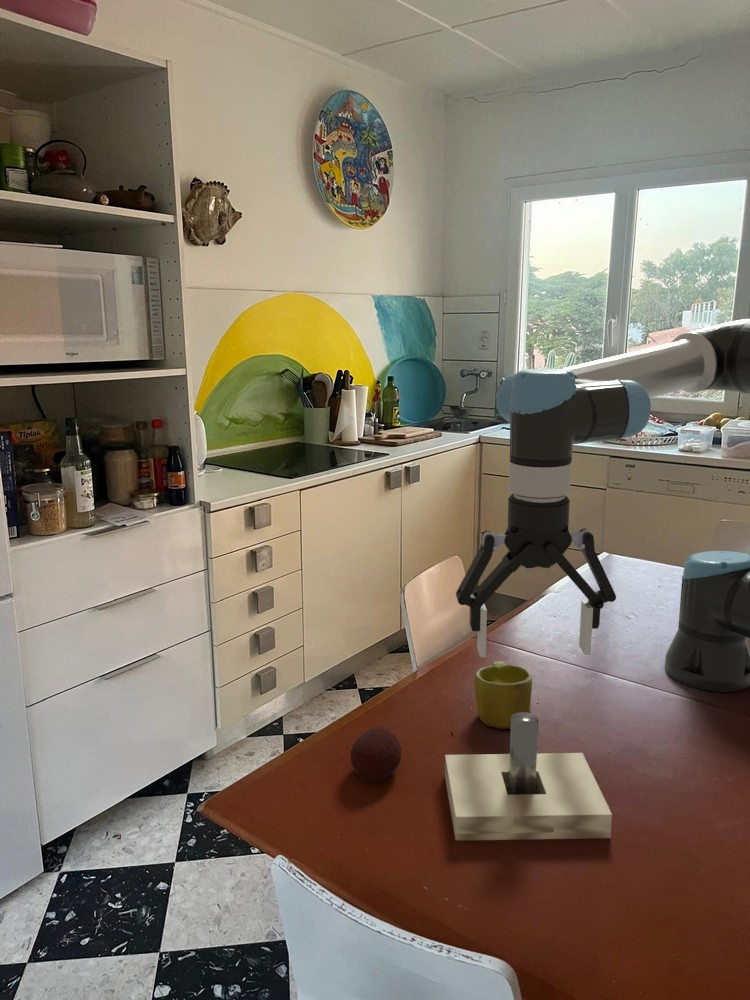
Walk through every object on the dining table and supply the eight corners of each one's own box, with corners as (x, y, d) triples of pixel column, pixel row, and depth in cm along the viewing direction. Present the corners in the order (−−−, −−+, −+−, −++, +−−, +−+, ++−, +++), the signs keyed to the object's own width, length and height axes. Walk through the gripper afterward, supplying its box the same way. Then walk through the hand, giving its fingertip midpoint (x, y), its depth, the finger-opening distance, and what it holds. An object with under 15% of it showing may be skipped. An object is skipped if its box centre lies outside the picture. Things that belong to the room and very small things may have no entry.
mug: (542, 729, 121) (524, 668, 121) (479, 741, 123) (462, 681, 124) (545, 706, 133) (529, 650, 133) (488, 717, 135) (473, 662, 136)
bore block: (581, 774, 112) (582, 752, 112) (610, 838, 99) (612, 814, 98) (444, 776, 112) (445, 754, 111) (455, 840, 99) (455, 816, 98)
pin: (531, 789, 107) (534, 711, 104) (537, 805, 104) (541, 725, 101) (505, 790, 107) (508, 712, 104) (511, 806, 104) (514, 726, 101)
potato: (341, 785, 111) (340, 747, 109) (366, 748, 120) (365, 712, 118) (389, 795, 108) (388, 757, 107) (410, 757, 117) (411, 720, 116)
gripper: (628, 486, 99) (618, 637, 105) (436, 489, 99) (435, 641, 104) (649, 500, 92) (637, 662, 97) (441, 504, 92) (441, 666, 97)
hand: (533, 651), depth 101 cm, fingers open, 13 cm apart
